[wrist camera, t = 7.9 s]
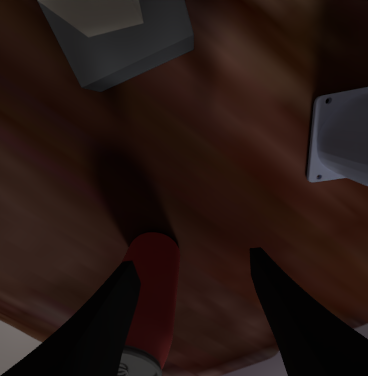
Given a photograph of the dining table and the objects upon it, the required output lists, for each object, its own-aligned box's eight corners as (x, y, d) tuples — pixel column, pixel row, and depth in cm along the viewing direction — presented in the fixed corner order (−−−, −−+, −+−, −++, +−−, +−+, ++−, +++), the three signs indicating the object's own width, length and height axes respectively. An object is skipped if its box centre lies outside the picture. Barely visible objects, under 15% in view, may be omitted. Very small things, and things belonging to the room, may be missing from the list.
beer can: (120, 243, 23) (54, 362, 12) (160, 220, 21) (126, 335, 10) (151, 274, 25) (117, 401, 14) (190, 256, 23) (187, 384, 12)
